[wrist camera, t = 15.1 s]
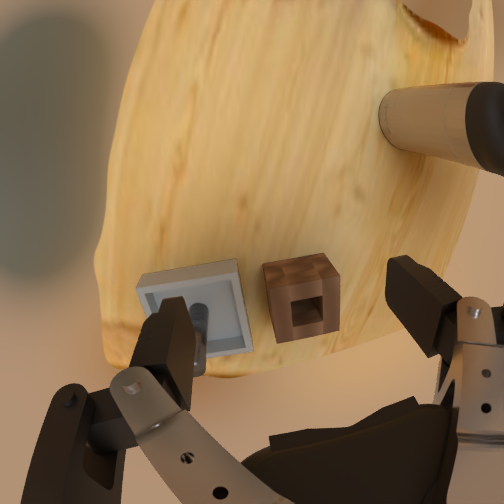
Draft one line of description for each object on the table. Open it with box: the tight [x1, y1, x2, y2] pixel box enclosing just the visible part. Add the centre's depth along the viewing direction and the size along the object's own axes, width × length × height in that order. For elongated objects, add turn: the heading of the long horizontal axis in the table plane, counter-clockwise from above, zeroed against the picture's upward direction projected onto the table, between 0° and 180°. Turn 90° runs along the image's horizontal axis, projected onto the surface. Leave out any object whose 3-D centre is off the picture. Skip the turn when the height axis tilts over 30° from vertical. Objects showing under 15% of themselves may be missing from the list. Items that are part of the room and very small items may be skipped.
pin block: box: [263, 253, 340, 344], centre depth 40 cm, size 9×9×7 cm
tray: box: [136, 259, 253, 358], centre depth 42 cm, size 14×14×4 cm
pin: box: [189, 303, 209, 377], centre depth 37 cm, size 3×3×12 cm
